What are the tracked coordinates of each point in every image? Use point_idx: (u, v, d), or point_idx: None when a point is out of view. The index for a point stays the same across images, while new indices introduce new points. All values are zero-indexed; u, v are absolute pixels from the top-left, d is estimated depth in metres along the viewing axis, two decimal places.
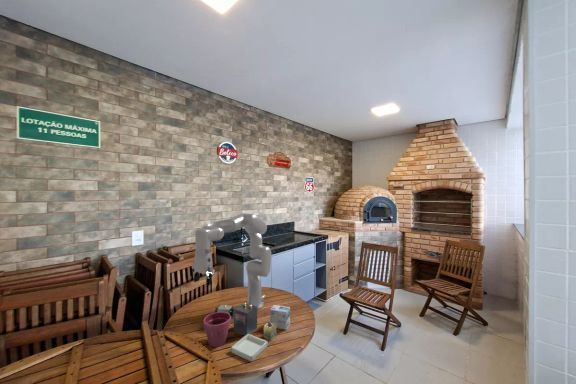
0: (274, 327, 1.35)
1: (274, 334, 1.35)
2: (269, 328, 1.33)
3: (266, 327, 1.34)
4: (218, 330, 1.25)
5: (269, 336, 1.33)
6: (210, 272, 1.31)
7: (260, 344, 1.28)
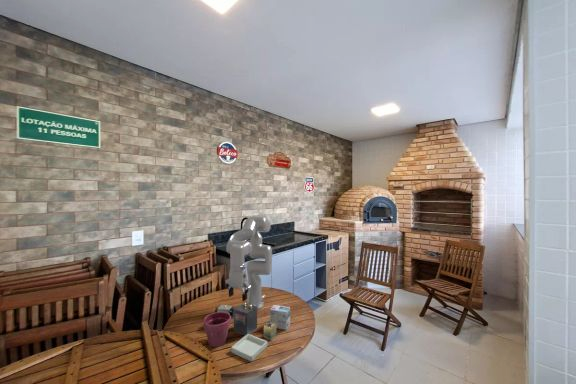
0: (274, 327, 1.35)
1: (274, 334, 1.35)
2: (269, 328, 1.33)
3: (266, 327, 1.34)
4: (218, 330, 1.25)
5: (269, 336, 1.33)
6: (245, 288, 1.32)
7: (260, 344, 1.28)
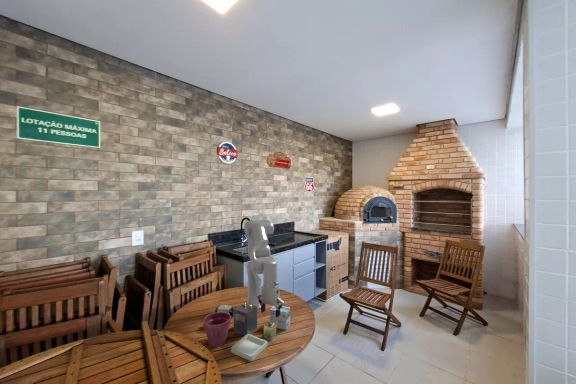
0: (274, 327, 1.35)
1: (274, 334, 1.35)
2: (269, 328, 1.33)
3: (266, 327, 1.34)
4: (218, 330, 1.25)
5: (269, 336, 1.33)
6: (278, 303, 1.34)
7: (260, 344, 1.28)
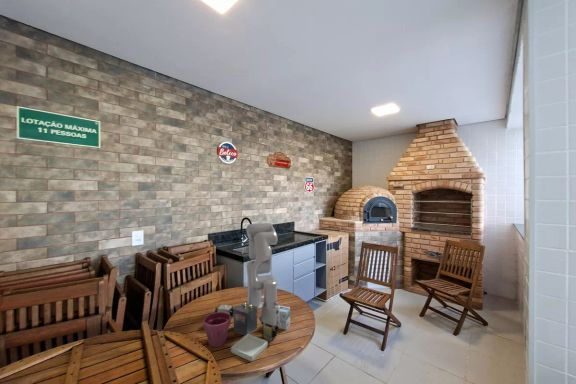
0: None
1: None
2: (269, 328, 1.33)
3: (266, 327, 1.34)
4: (218, 330, 1.25)
5: (269, 336, 1.33)
6: (276, 324, 1.35)
7: (260, 344, 1.28)
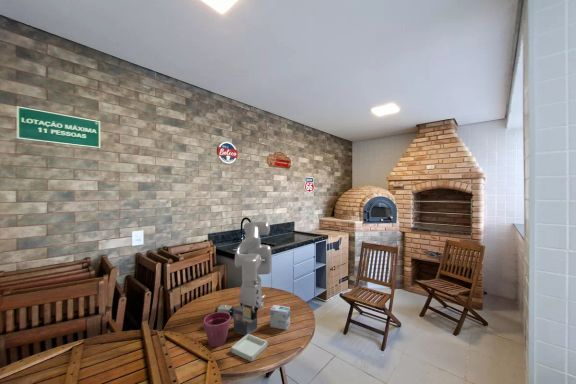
0: None
1: None
2: (248, 309, 1.22)
3: (245, 308, 1.23)
4: (218, 330, 1.25)
5: (249, 317, 1.22)
6: (256, 306, 1.24)
7: (260, 344, 1.28)
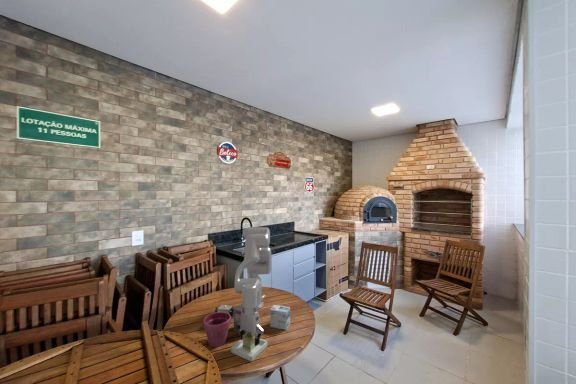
0: (254, 337, 1.25)
1: (254, 345, 1.25)
2: (248, 339, 1.23)
3: (245, 337, 1.24)
4: (218, 330, 1.25)
5: (249, 347, 1.22)
6: (258, 331, 1.24)
7: (260, 344, 1.28)
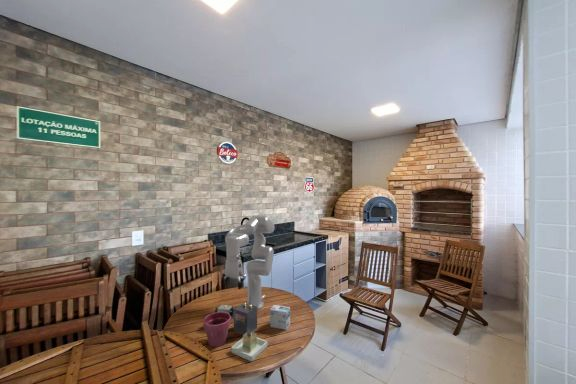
0: (254, 337, 1.25)
1: (254, 345, 1.25)
2: (248, 339, 1.23)
3: (245, 337, 1.24)
4: (218, 330, 1.25)
5: (249, 347, 1.22)
6: (241, 277, 1.40)
7: (260, 344, 1.28)
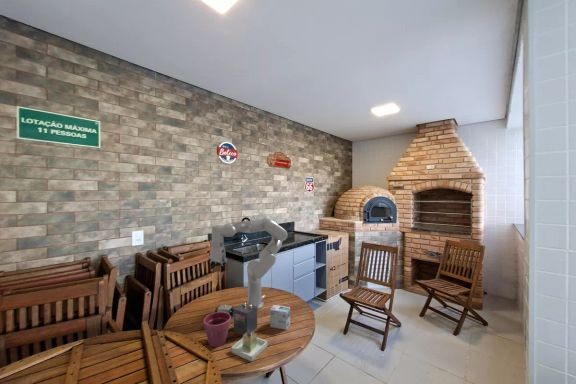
0: (254, 337, 1.25)
1: (254, 345, 1.25)
2: (248, 339, 1.23)
3: (245, 337, 1.24)
4: (218, 330, 1.25)
5: (249, 347, 1.22)
6: (224, 261, 1.60)
7: (260, 344, 1.28)
